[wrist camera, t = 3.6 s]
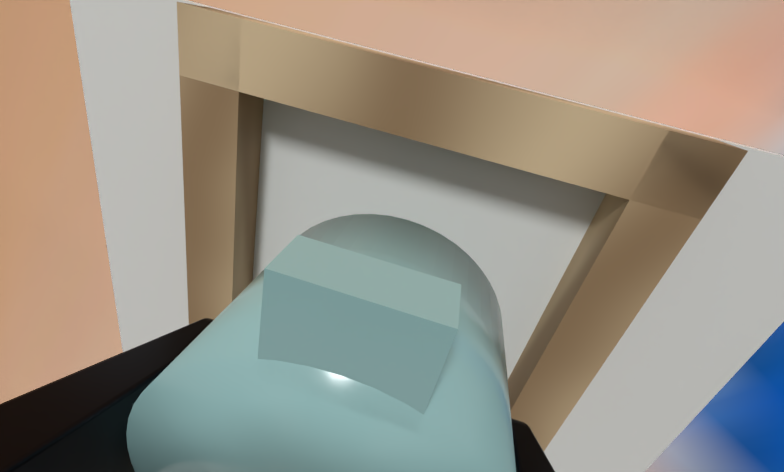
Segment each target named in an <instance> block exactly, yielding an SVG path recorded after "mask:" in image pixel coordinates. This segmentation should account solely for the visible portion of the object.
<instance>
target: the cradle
mask: <svg viewBox="0 0 784 472" xmlns="http://www.w3.org/2000/svg"><path fill="white" fill-rule="evenodd" d="M177 24H178V50H179V77H180V104H181V130H182V157H183V184H184V211H185V237H186V264H187V291H188V318H189V324H192V323H194V322H196V321H199V320H201V319H204V318H210V319H213V320H214V319H215V318H216V317H217V316H218V315H219V314H220V313H221V312H222V311H223V310H224V309H225V308H226V307H227V306H228V305H229V304H230V303H231V302H232V301H233V300H234V299H235V298H236V297H237V296H238V295H239V294H240V293H241V292H242V291H243V290H244V289H245V288H246V287H247V286H248V285H249V284H250V283H251V282H252V281H253V265H254V249H255V233H256V216H257V200H258V184H259V168H260V152H261V136H262V119H263V103H264V99H267V100H271V101H274V102H278V103H282V104H285V105H289V106H292V107H296V108H300V109H303V110H307V111H311V112H314V113H318V114H321V115H325V116H329V117H332V118H336V119H339V120H343V121H347V122H350V123H354V124H357V125H361V126H365V127H368V128H372V129H375V130H379V131H383V132H386V133H390V134H394V135H397V136H401V137H404V138H408V139H412V140H415V141H419V142H422V143H426V144H430V145H433V146H437V147H440V148H444V149H448V150H451V151H455V152H458V153H462V154H466V155H469V156H473V157H477V158H480V159H484V160H487V161H491V162H495V163H498V164H502V165H505V166H509V167H513V168H516V169H520V170H523V171H527V172H531V173H534V174H538V175H541V176H545V177H549V178H552V179H556V180H560V181H563V182H567V183H570V184H574V185H578V186H581V187H585V188H588V189H592V190H596V191H599V192H603V193H606V195H605V197H604V199H603V201H602V202H601V204H600V206H599V208H598V210H597V212H596V214H595V216H594V218H593V219H592V221H591V223H590V225H589V227H588V229H587V231H586V233H585V235H584V236H583V238H582V240H581V242H580V244H579V246H578V248H577V250H576V252H575V253H574V255H573V257H572V259H571V261H570V263H569V265H568V267H567V269H566V271H565V272H564V274H563V276H562V278H561V280H560V282H559V284H558V286H557V288H556V289H555V291H554V293H553V295H552V297H551V299H550V301H549V303H548V305H547V306H546V308H545V310H544V312H543V314H542V316H541V318H540V320H539V322H538V324H537V325H536V327H535V329H534V331H533V333H532V335H531V337H530V339H529V341H528V342H527V344H526V346H525V348H524V350H523V352H522V354H521V356H520V358H519V359H518V361H517V363H516V365H515V367H514V369H513V371H512V373H511V375H510V376H509V378H508V388H509V399H510V410H511V418H512V419H516V420H519V421H522V422H524V423H526V424H527V425H528V426H529V427H530V429H531V430H532V432H533V434H534V436H535V437H536V439H537V441H538V443H539V444H540V446H541V448H542V450H543V451H545V449H546V448H547V446H548V445H549V443H550V442H551V440H552V439H553V437H554V436H555V434H556V433H557V431H558V430H559V428H560V427H561V426H562V424H563V423H564V421H565V420H566V418H567V417H568V415H569V414H570V412H571V411H572V409H573V408H574V406H575V405H576V403H577V402H578V401H579V399H580V398H581V396H582V395H583V393H584V392H585V390H586V389H587V387H588V386H589V384H590V383H591V381H592V380H593V378H594V377H595V376H596V374H597V373H598V371H599V370H600V368H601V367H602V365H603V364H604V362H605V361H606V359H607V358H608V356H609V355H610V353H611V352H612V351H613V349H614V348H615V346H616V345H617V343H618V342H619V340H620V339H621V337H622V336H623V334H624V333H625V331H626V330H627V328H628V327H629V326H630V324H631V323H632V321H633V320H634V318H635V317H636V315H637V314H638V312H639V311H640V309H641V308H642V306H643V305H644V303H645V302H646V301H647V299H648V298H649V296H650V295H651V293H652V292H653V290H654V289H655V287H656V286H657V284H658V283H659V281H660V280H661V278H662V277H663V276H664V274H665V273H666V271H667V270H668V268H669V267H670V265H671V264H672V262H673V261H674V259H675V258H676V256H677V255H678V253H679V252H680V251H681V249H682V248H683V246H684V245H685V243H686V242H687V240H688V239H689V237H690V236H691V234H692V233H693V231H694V230H695V228H696V227H697V226H698V224H699V223H700V221H701V220H702V218H703V217H704V215H705V214H706V212H707V211H708V209H709V208H710V206H711V205H712V203H713V202H714V201H715V199H716V198H717V196H718V195H719V193H720V192H721V190H722V189H723V187H724V186H725V184H726V183H727V181H728V180H729V178H730V177H731V176H732V174H733V173H734V171H735V170H736V168H737V167H738V165H739V164H740V162H741V161H742V159H743V158H744V156H745V155H746V153H747V152H748V151H747V150H744V149H741V148H738V147H736V146H733V145H730V144H727V143H724V142H721V141H719V140H716V139H713V138H709V137H705V136H701V135H697V134H693V133H690V132H686V131H682V130H678V129H674V128H670V127H667V126H663V125H659V124H655V123H651V122H647V121H644V120H640V119H636V118H632V117H628V116H624V115H621V114H617V113H613V112H609V111H605V110H601V109H597V108H594V107H590V106H586V105H582V104H578V103H574V102H571V101H567V100H563V99H559V98H555V97H551V96H548V95H544V94H540V93H536V92H532V91H528V90H525V89H521V88H517V87H513V86H509V85H505V84H502V83H498V82H494V81H490V80H486V79H482V78H478V77H475V76H471V75H467V74H463V73H459V72H455V71H452V70H448V69H444V68H440V67H436V66H432V65H429V64H425V63H421V62H417V61H413V60H409V59H406V58H402V57H398V56H394V55H390V54H386V53H383V52H379V51H375V50H371V49H367V48H363V47H359V46H356V45H352V44H348V43H344V42H340V41H336V40H333V39H329V38H325V37H321V36H317V35H313V34H310V33H306V32H302V31H298V30H294V29H290V28H287V27H283V26H279V25H275V24H271V23H267V22H264V21H260V20H256V19H252V18H248V17H244V16H240V15H237V14H233V13H229V12H225V11H221V10H217V9H214V8H209V7H204V6H198V5H192V4H187V3H181V2H177Z"/></svg>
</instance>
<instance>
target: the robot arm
mask: <svg viewBox="0 0 784 472" xmlns="http://www.w3.org/2000/svg"><path fill="white" fill-rule="evenodd" d="M212 321H213V319H210V318H204V319H201V320H199V321H196V322H194V323H192V324H189V325H187V326H184V327H182V328H180V329H177V330H175V331H173V332H170V333H168V334H165V335H163V336H161V337H158V338H156V339H154V340H151V341H149V342H147V343H144V344H142V345H139V346H137V347H135V348H132V349H130V350H128V351H125V352H123V353H120V354H118V355H116V356H113V357H111V358H109V359H106V360H104V361H101V362H99V363H97V364H94V365H92V366H90V367H87V368H85V369H82V370H80V371H78V372H75V373H73V374H71V375H68V376H66V377H64V378H61V379H59V380H56V381H54V382H52V383H49V384H47V385H45V386H42V387H40V388H37V389H35V390H33V391H30V392H28V393H26V394H23V395H21V396H18V397H16V398H14V399H11V400H9V401H7V402H4V403H2V404H0V472H135V471H134V468H133V466H132V464H131V460H130V456H129V452H128V448H127V436H126V431H127V424H128V418H129V415H130V412H131V410H132V407H133V404H134V403H135V402H136V400H137V399H138V397H139V396H140V394H141V393H142V392H143V391H144V390H145V389H146V387H147V386H148V385H149V384H150V383H151V382H152V381H153V380H154V379H155V378H156V377H157V376H158V375H159V374H160V373H161V372H162V371H163V370H164V369H165V368H166V367H167V366H168V365H169V364H170V363H171V362H172V361H173V360H174V359H175V358H176V357H177V356H178V355H179V354H180V353H181V352H182V351H183V350H184V349H185V348H186V347H187V346H188V345H189V344H190V343H191V342H192V341H193V340H194V339H195V338H196V337H197V336H198V335H199V334H200V333H201V332H202V331H203V330H204V329H205V328H206V327H207V326H208V325H209V324H210V323H211V322H212ZM511 420H512V431H513V442H514V452H515V463H516V472H555V471H554V469H553V467H552V465H551V464H550V462H549V460H548V458H547V457H546V455H545V453H544V451H543V450H542V448H541V446H540V444H539V443H538V441H537V439H536V437H535V436H534V434H533V432H532V430H531V429H530V427H529V426H528V425H527V424H526V423H524V422H522V421H519V420H516V419H512V418H511Z"/></svg>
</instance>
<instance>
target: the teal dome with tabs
mask: <svg viewBox="0 0 784 472" xmlns="http://www.w3.org/2000/svg"><path fill="white" fill-rule="evenodd" d="M126 436H127V448H128V452H129V456H130V460H131V464H132V466H133V468H134V471H135V472H516V463H515V452H514V442H513V431H512V420H511V410H510V399H509V388H508V378H507V367H506V356H505V345H504V335H503V324H502V317H501V310H500V306H499V303H498V300H497V296H496V294H495V292H494V290H493V288H492V286H491V284H490V282H489V280H488V279H487V277H486V276H485V274H484V273H483V271H482V270H481V268H480V267H479V266H478V265H477V264H476V263H475V262H474V260H473V259H472V258H471V257H470V256H469V255H468V254H467V253H466V252H464V251H463V250H462V249H461V248H460V247H459V246H458V245H456V244H455V243H454V242H452V241H451V240H449V239H447V238H446V237H444V236H443V235H441V234H440V233H438V232H436V231H434V230H432V229H430V228H428V227H426V226H423V225H421V224H418V223H415V222H412V221H410V220H406V219H402V218H398V217H393V216H388V215H378V214H354V215H347V216H341V217H337V218H333V219H330V220H326V221H324V222H321V223H319V224H317V225H315V226H313V227H311V228H309V229H308V230H306V231H305V232H303V233H302V234H300V235H297V236H296V237H295V238H294V239H293V240H292V241H291V242H290V243H289V244H288V245H287V246H286V247H285V248H284V249H283V250H282V251H281V252H280V253H279V254H278V255H277V256H276V257H275V258H274V259H273V260H272V261H271V262H270V263H269V264H268V265H267V266H266V267H265V268H264V270H263V271H262V272H261V273H260V274H259V275H258V276H257V277H256V278H255V279H254V280H253V281H252V282H251V283H250V284H249V285H248V286H247V287H246V288H245V289H244V290H243V291H242V292H241V293H240V294H239V295H238V296H237V297H236V298H235V299H234V300H233V301H232V302H231V303H230V304H229V305H228V306H227V307H226V308H225V309H224V310H223V311H222V312H221V313H220V314H219V315H218V316H217V317H216V318H215V319H214V320H213V321H212V322H211V323H210V324H209V325H208V326H207V327H206V328H205V329H204V330H203V331H202V332H201V333H200V334H199V335H198V336H197V337H196V338H195V339H194V340H193V341H192V342H191V343H190V344H189V345H188V346H187V347H186V348H185V349H184V350H183V351H182V352H181V353H180V354H179V355H178V356H177V357H176V358H175V359H174V360H173V361H172V362H171V363H170V364H169V365H168V366H167V367H166V368H165V369H164V370H163V371H162V372H161V373H160V374H159V375H158V376H157V377H156V378H155V379H154V380H153V381H152V382H151V383H150V384H149V385H148V386H147V387H146V389H145V390H144V391H143V392H142V393H141V394H140V396H139V397H138V399H137V400H136V402H135V403H134V404H133V407H132V410H131V412H130V415H129V418H128V424H127V431H126Z"/></svg>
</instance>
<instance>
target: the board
mask: <svg viewBox="0 0 784 472" xmlns="http://www.w3.org/2000/svg"><path fill="white" fill-rule="evenodd" d="M177 2H181V3H187V4H192V5H198V6H204V7H209V8H214V9H217V10H221V11H225V12H229V13H233V14H237V15H240V16H244V17H248V18H252V19H256V20H260V21H264V22H267V23H271V24H275V25H279V26H283V27H287V28H290V29H294V30H298V31H302V32H306V33H310V34H313V35H317V36H321V37H325V38H329V39H333V40H336V41H340V42H344V43H348V44H352V45H356V46H359V47H363V48H367V49H371V50H375V51H379V52H383V53H386V54H390V55H394V56H398V57H402V58H406V59H409V60H413V61H417V62H421V63H425V64H429V65H432V66H436V67H440V68H444V69H448V70H452V71H455V72H459V73H463V74H467V75H471V76H475V77H478V78H482V79H486V80H490V81H494V82H498V83H502V84H505V85H509V86H513V87H517V88H521V89H525V90H528V91H532V92H536V93H540V94H544V95H548V96H551V97H555V98H559V99H563V100H567V101H571V102H574V103H578V104H582V105H586V106H590V107H594V108H597V109H601V110H605V111H609V112H613V113H617V114H621V115H624V116H628V117H632V118H636V119H640V120H644V121H647V122H651V123H655V124H659V125H663V126H667V127H670V128H674V129H678V130H682V131H686V132H690V133H693V134H697V135H701V136H705V137H709V138H713V139H716V140H719V141H721V142H724V143H727V144H730V145H733V146H736V147H738V148H741V149H744V150H747V151H748V152H747V153H746V155H745V156H744V158H743V159H742V161H741V162H740V164H739V165H738V167H737V168H736V170H735V171H734V173H733V174H732V176H731V177H730V178H729V180H728V181H727V183H726V184H725V186H724V187H723V189H722V190H721V192H720V193H719V195H718V196H717V198H716V199H715V201H714V202H713V203H712V205H711V206H710V208H709V209H708V211H707V212H706V214H705V215H704V217H703V218H702V220H701V221H700V223H699V224H698V226H697V227H696V228H695V230H694V231H693V233H692V234H691V236H690V237H689V239H688V240H687V242H686V243H685V245H684V246H683V248H682V249H681V251H680V252H679V253H678V255H677V256H676V258H675V259H674V261H673V262H672V264H671V265H670V267H669V268H668V270H667V271H666V273H665V274H664V276H663V277H662V278H661V280H660V281H659V283H658V284H657V286H656V287H655V289H654V290H653V292H652V293H651V295H650V296H649V298H648V299H647V301H646V302H645V303H644V305H643V306H642V308H641V309H640V311H639V312H638V314H637V315H636V317H635V318H634V320H633V321H632V323H631V324H630V326H629V327H628V328H627V330H626V331H625V333H624V334H623V336H622V337H621V339H620V340H619V342H618V343H617V345H616V346H615V348H614V349H613V351H612V352H611V353H610V355H609V356H608V358H607V359H606V361H605V362H604V364H603V365H602V367H601V368H600V370H599V371H598V373H597V374H596V376H595V377H594V378H593V380H592V381H591V383H590V384H589V386H588V387H587V389H586V390H585V392H584V393H583V395H582V396H581V398H580V399H579V401H578V402H577V403H576V405H575V406H574V408H573V409H572V411H571V412H570V414H569V415H568V417H567V418H566V420H565V421H564V423H563V424H562V426H561V427H560V428H559V430H558V431H557V433H556V434H555V436H554V437H553V439H552V440H551V442H550V443H549V445H548V446H547V448H546V449H545V451H544V453H545V455H546V457H547V458H548V460H549V462H550V464H551V465H552V467H553V469H554V471H555V472H645V471H646V470H647V469H648V468H649V466H650V465H651V464H652V463H653V462H654V461H655V460H656V459H657V458H658V457H659V456H660V455H661V453H662V452H663V451H664V450H665V449H666V448H667V447H668V446H669V445H670V444H671V443H672V442H673V440H674V439H675V438H676V437H677V436H678V435H679V434H680V433H681V432H682V431H683V430H684V429H685V428H686V426H687V425H688V424H689V423H690V422H691V421H692V420H693V419H694V418H695V417H696V416H697V415H698V413H699V412H700V411H701V410H702V409H703V408H704V407H705V406H706V405H707V404H708V403H709V402H710V400H711V399H712V398H713V397H714V396H715V395H716V394H717V393H718V392H719V391H720V390H721V389H722V387H723V386H724V385H725V384H726V383H727V382H728V381H729V380H730V379H731V378H732V377H733V376H734V375H735V373H736V372H737V371H738V370H739V369H740V368H741V367H742V366H743V365H744V364H745V363H746V362H747V360H748V359H749V358H750V357H751V356H752V355H753V354H754V353H755V352H756V351H757V350H758V349H759V347H760V346H761V345H762V344H763V343H764V342H765V341H766V340H767V339H768V338H769V337H770V336H771V334H772V333H773V332H774V331H775V330H776V329H777V328H778V327H779V326H780V325H781V324H782V323H783V322H784V155H781V154H777V153H773V152H769V151H765V150H761V149H758V148H754V147H750V146H746V145H742V144H738V143H735V142H731V141H727V140H723V139H719V138H715V137H712V136H708V135H704V134H700V133H696V132H692V131H688V130H685V129H681V128H677V127H673V126H669V125H665V124H662V123H658V122H654V121H650V120H646V119H642V118H638V117H635V116H631V115H627V114H623V113H619V112H615V111H612V110H608V109H604V108H600V107H596V106H592V105H589V104H585V103H581V102H577V101H573V100H569V99H565V98H562V97H558V96H554V95H550V94H546V93H542V92H539V91H535V90H531V89H527V88H523V87H519V86H515V85H512V84H508V83H504V82H500V81H496V80H492V79H489V78H485V77H481V76H477V75H473V74H469V73H466V72H462V71H458V70H454V69H450V68H446V67H442V66H439V65H435V64H431V63H427V62H423V61H419V60H416V59H412V58H408V57H404V56H400V55H396V54H392V53H389V52H385V51H381V50H377V49H373V48H369V47H366V46H362V45H358V44H354V43H350V42H346V41H343V40H339V39H335V38H331V37H327V36H323V35H319V34H316V33H312V32H308V31H304V30H300V29H296V28H293V27H289V26H285V25H281V24H277V23H273V22H269V21H266V20H262V19H258V18H254V17H250V16H246V15H243V14H239V13H235V12H231V11H227V10H223V9H220V8H216V7H212V6H208V5H204V4H200V3H196V2H193V1H189V0H70V5H71V12H72V18H73V25H74V32H75V38H76V45H77V51H78V58H79V65H80V71H81V78H82V85H83V91H84V98H85V104H86V111H87V118H88V124H89V131H90V137H91V144H92V151H93V157H94V164H95V171H96V177H97V184H98V190H99V197H100V204H101V210H102V217H103V223H104V230H105V237H106V243H107V250H108V257H109V263H110V270H111V276H112V283H113V290H114V296H115V303H116V310H117V316H118V323H119V329H120V336H121V343H122V349H123V352H125V351H128V350H130V349H132V348H135V347H137V346H139V345H142V344H144V343H147V342H149V341H151V340H154V339H156V338H158V337H161V336H163V335H165V334H168V333H170V332H173V331H175V330H177V329H180V328H182V327H184V326H187V325H189V318H188V291H187V264H186V237H185V211H184V184H183V157H182V130H181V104H180V77H179V50H178V24H177ZM605 195H606V193H603V192H599V191H596V190H592V189H588V188H585V187H581V186H578V185H574V184H570V183H567V182H563V181H560V180H556V179H552V178H549V177H545V176H541V175H538V174H534V173H531V172H527V171H523V170H520V169H516V168H513V167H509V166H505V165H502V164H498V163H495V162H491V161H487V160H484V159H480V158H477V157H473V156H469V155H466V154H462V153H458V152H455V151H451V150H448V149H444V148H440V147H437V146H433V145H430V144H426V143H422V142H419V141H415V140H412V139H408V138H404V137H401V136H397V135H394V134H390V133H386V132H383V131H379V130H375V129H372V128H368V127H365V126H361V125H357V124H354V123H350V122H347V121H343V120H339V119H336V118H332V117H329V116H325V115H321V114H318V113H314V112H311V111H307V110H303V109H300V108H296V107H292V106H289V105H285V104H282V103H278V102H274V101H271V100H267V99H264V103H263V119H262V136H261V152H260V168H259V184H258V200H257V216H256V233H255V249H254V265H253V280H254V279H255V278H256V277H257V276H258V275H259V274H260V273H261V272H262V271H263V270H264V268H265V267H266V266H267V265H268V264H269V263H270V262H271V261H272V260H273V259H274V258H275V257H276V256H277V255H278V254H279V253H280V252H281V251H282V250H283V249H284V248H285V247H286V246H287V245H288V244H289V243H290V242H291V241H292V240H293V239H294V238H295V237H296V236H297V235H300V234H302V233H303V232H305V231H306V230H308V229H309V228H311V227H313V226H315V225H317V224H319V223H321V222H324V221H326V220H330V219H333V218H337V217H341V216H347V215H354V214H378V215H388V216H393V217H398V218H402V219H406V220H410V221H412V222H415V223H418V224H421V225H423V226H426V227H428V228H430V229H432V230H434V231H436V232H438V233H440V234H441V235H443V236H444V237H446V238H447V239H449V240H451V241H452V242H454V243H455V244H456V245H458V246H459V247H460V248H461V249H462V250H463V251H464V252H466V253H467V254H468V255H469V256H470V257H471V258H472V259H473V260H474V262H475V263H476V264H477V265H478V266H479V267H480V268H481V270H482V271H483V273H484V274H485V276H486V277H487V279H488V280H489V282H490V284H491V286H492V288H493V290H494V292H495V294H496V296H497V300H498V303H499V306H500V310H501V317H502V324H503V335H504V345H505V356H506V367H507V378H509V376H510V375H511V373H512V371H513V369H514V367H515V365H516V363H517V361H518V359H519V358H520V356H521V354H522V352H523V350H524V348H525V346H526V344H527V342H528V341H529V339H530V337H531V335H532V333H533V331H534V329H535V327H536V325H537V324H538V322H539V320H540V318H541V316H542V314H543V312H544V310H545V308H546V306H547V305H548V303H549V301H550V299H551V297H552V295H553V293H554V291H555V289H556V288H557V286H558V284H559V282H560V280H561V278H562V276H563V274H564V272H565V271H566V269H567V267H568V265H569V263H570V261H571V259H572V257H573V255H574V253H575V252H576V250H577V248H578V246H579V244H580V242H581V240H582V238H583V236H584V235H585V233H586V231H587V229H588V227H589V225H590V223H591V221H592V219H593V218H594V216H595V214H596V212H597V210H598V208H599V206H600V204H601V202H602V201H603V199H604V197H605Z"/></svg>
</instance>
